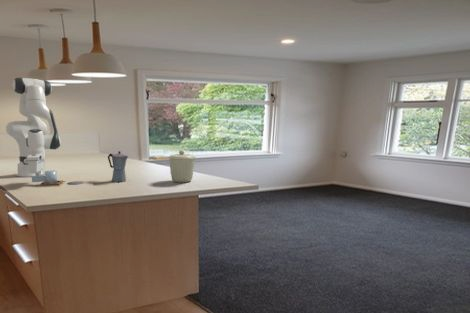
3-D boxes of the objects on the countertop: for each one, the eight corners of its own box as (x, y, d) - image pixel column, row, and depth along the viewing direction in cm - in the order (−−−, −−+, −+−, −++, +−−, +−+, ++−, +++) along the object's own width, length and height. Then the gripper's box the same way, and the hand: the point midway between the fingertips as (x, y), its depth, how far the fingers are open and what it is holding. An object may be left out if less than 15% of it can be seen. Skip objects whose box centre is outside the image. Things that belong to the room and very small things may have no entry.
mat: (69, 183, 210) (68, 181, 210) (85, 182, 212) (85, 180, 212) (65, 186, 200) (65, 184, 200) (83, 185, 203) (83, 184, 203)
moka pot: (125, 182, 212) (124, 152, 210) (103, 181, 215) (102, 151, 213) (132, 180, 222) (131, 150, 219) (112, 179, 225) (111, 150, 222)
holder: (43, 183, 209) (43, 180, 209) (66, 182, 213) (65, 179, 213) (35, 188, 193) (35, 185, 193) (60, 187, 197) (59, 184, 196)
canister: (181, 177, 232) (181, 148, 229) (201, 180, 222) (201, 149, 219) (162, 181, 217) (162, 150, 215) (182, 185, 207) (181, 152, 204)
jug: (57, 182, 207) (57, 170, 206) (56, 184, 201) (55, 171, 200) (33, 184, 202) (32, 171, 201) (31, 186, 196) (30, 173, 195)
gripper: (36, 154, 209) (37, 175, 211) (25, 158, 190) (27, 181, 191) (47, 153, 211) (48, 175, 213) (38, 157, 191) (39, 180, 193)
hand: (38, 178), depth 202 cm, fingers closed
